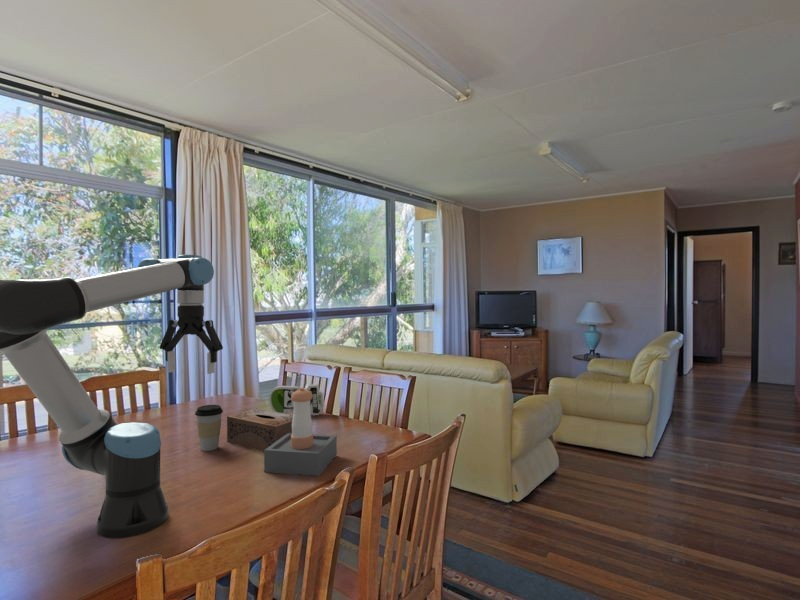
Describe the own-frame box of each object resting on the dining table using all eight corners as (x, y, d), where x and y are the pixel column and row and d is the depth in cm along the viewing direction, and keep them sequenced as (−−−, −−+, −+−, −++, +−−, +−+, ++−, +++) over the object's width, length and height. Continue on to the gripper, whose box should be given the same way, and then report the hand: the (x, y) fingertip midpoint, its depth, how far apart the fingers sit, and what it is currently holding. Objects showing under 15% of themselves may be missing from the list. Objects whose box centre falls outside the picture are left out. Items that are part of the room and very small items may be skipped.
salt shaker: (317, 444, 152) (317, 387, 151) (302, 450, 145) (302, 391, 145) (301, 440, 155) (301, 385, 155) (286, 446, 149) (285, 388, 149)
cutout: (325, 385, 213) (271, 381, 210) (325, 386, 210) (270, 382, 208) (322, 417, 213) (268, 414, 211) (322, 418, 210) (267, 415, 208)
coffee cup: (213, 453, 159) (212, 411, 159) (189, 451, 161) (189, 409, 161) (228, 444, 169) (228, 404, 168) (205, 443, 170) (205, 403, 170)
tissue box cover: (304, 443, 172) (304, 417, 171) (275, 454, 159) (275, 426, 159) (256, 432, 185) (256, 408, 185) (227, 442, 172) (227, 416, 172)
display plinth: (318, 476, 140) (318, 453, 140) (264, 472, 143) (264, 450, 143) (336, 455, 158) (336, 435, 158) (287, 452, 161) (287, 432, 161)
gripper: (234, 304, 143) (234, 371, 143) (163, 304, 147) (163, 369, 147) (220, 305, 135) (220, 375, 136) (146, 304, 140) (147, 373, 140)
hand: (191, 372), depth 141 cm, fingers open, 13 cm apart
